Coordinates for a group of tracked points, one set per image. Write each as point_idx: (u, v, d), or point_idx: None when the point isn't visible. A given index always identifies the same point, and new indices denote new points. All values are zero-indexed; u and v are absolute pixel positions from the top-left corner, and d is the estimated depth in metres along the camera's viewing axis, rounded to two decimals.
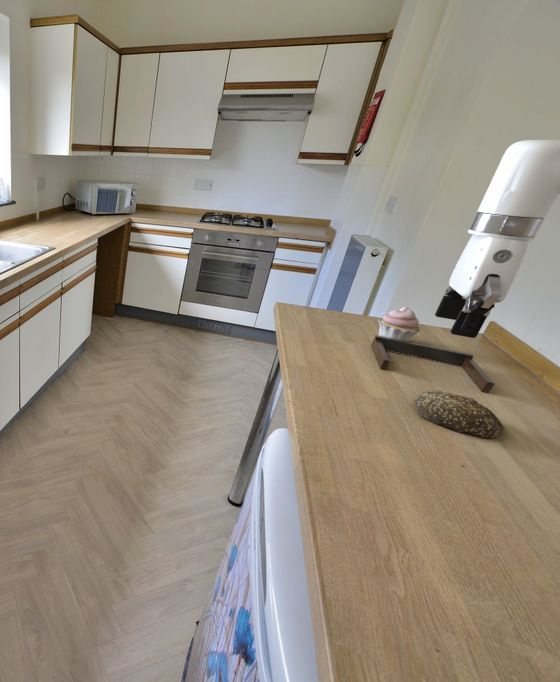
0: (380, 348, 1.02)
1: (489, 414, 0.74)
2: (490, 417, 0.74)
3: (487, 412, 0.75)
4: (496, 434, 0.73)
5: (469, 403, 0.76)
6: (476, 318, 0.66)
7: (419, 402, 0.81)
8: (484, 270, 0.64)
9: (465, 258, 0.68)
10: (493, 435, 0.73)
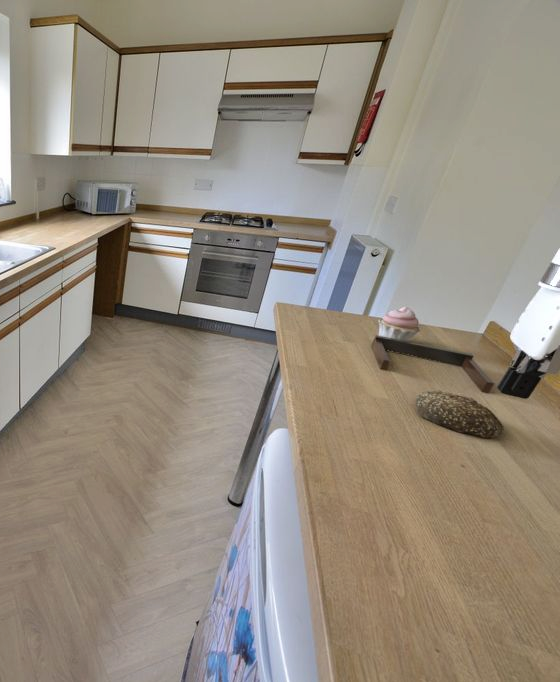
0: (380, 348, 1.02)
1: (489, 414, 0.74)
2: (490, 417, 0.74)
3: (487, 412, 0.75)
4: (496, 434, 0.73)
5: (470, 403, 0.76)
6: (530, 379, 0.62)
7: (419, 402, 0.81)
8: None
9: (534, 313, 0.60)
10: (493, 435, 0.73)
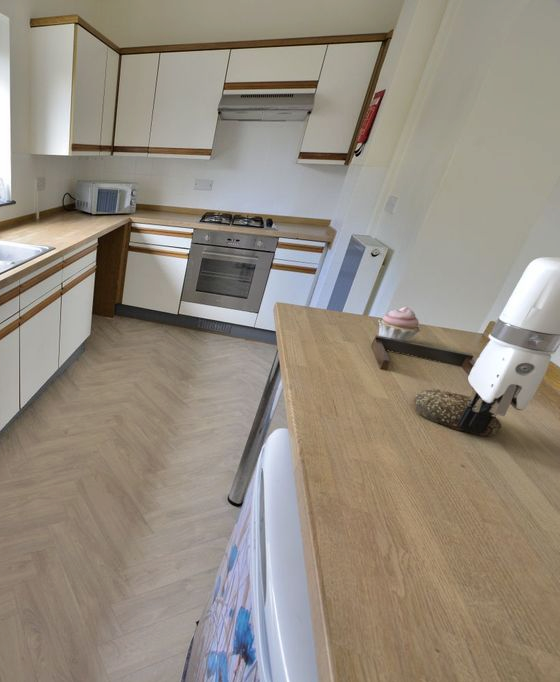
0: (380, 348, 1.02)
1: None
2: None
3: None
4: (494, 432, 0.73)
5: (467, 401, 0.76)
6: (484, 417, 0.71)
7: (417, 400, 0.81)
8: (506, 380, 0.65)
9: (486, 361, 0.69)
10: (491, 433, 0.74)
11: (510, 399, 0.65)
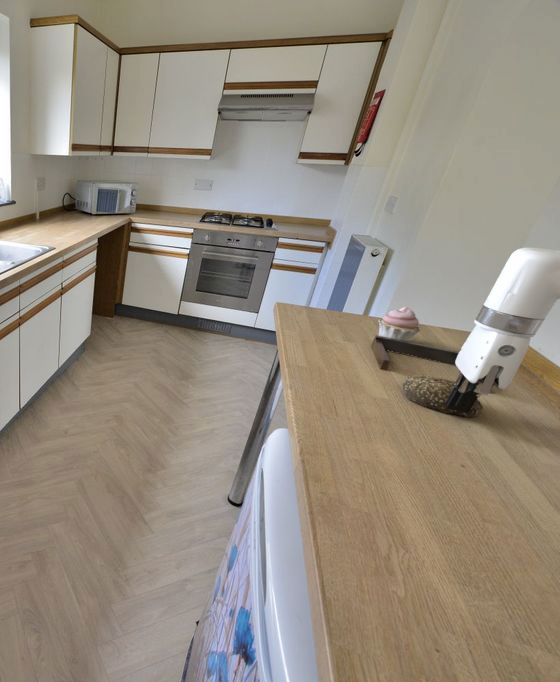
0: (380, 348, 1.02)
1: None
2: None
3: None
4: (477, 413, 0.79)
5: (452, 385, 0.82)
6: (469, 397, 0.76)
7: (406, 386, 0.86)
8: (489, 361, 0.70)
9: (471, 345, 0.75)
10: (475, 414, 0.79)
11: (493, 379, 0.71)
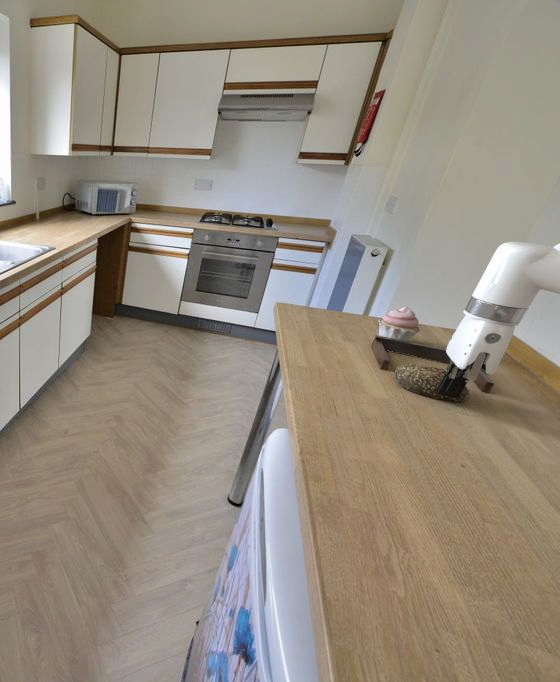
0: (380, 348, 1.02)
1: None
2: None
3: None
4: (466, 398, 0.84)
5: (442, 373, 0.87)
6: (458, 383, 0.81)
7: (399, 375, 0.91)
8: (477, 348, 0.75)
9: (461, 333, 0.79)
10: (463, 399, 0.84)
11: (480, 365, 0.76)
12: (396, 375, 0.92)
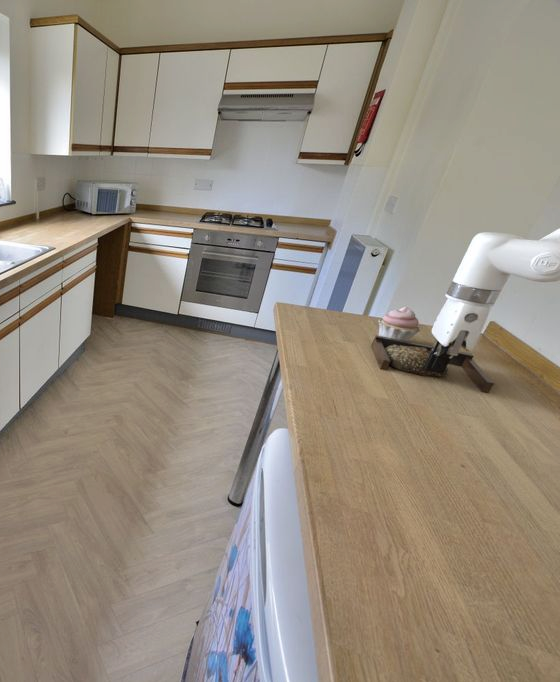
0: (380, 348, 1.02)
1: None
2: None
3: None
4: (447, 373, 0.94)
5: (425, 351, 0.96)
6: (443, 359, 0.90)
7: (388, 356, 1.00)
8: (458, 327, 0.84)
9: (444, 315, 0.89)
10: (446, 374, 0.94)
11: (461, 342, 0.85)
12: None
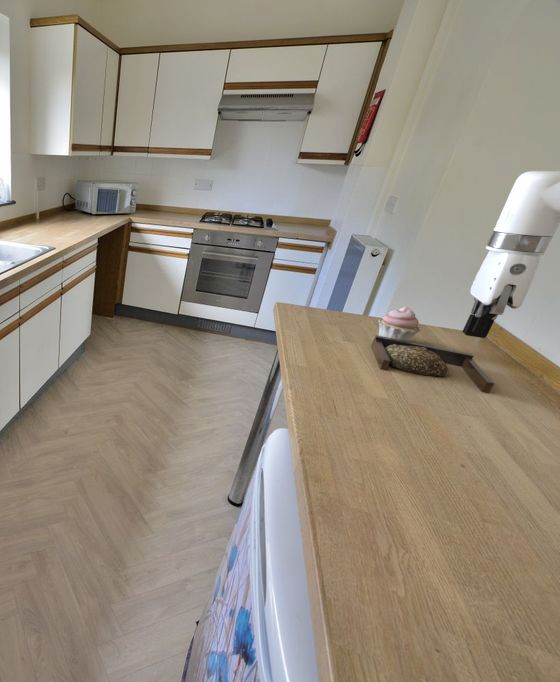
0: (380, 348, 1.02)
1: (439, 357, 0.96)
2: (441, 360, 0.95)
3: (437, 356, 0.96)
4: (447, 372, 0.95)
5: (425, 351, 0.97)
6: (485, 321, 0.80)
7: (388, 356, 1.00)
8: (502, 281, 0.74)
9: (484, 270, 0.79)
10: (445, 373, 0.94)
11: (507, 298, 0.75)
12: None
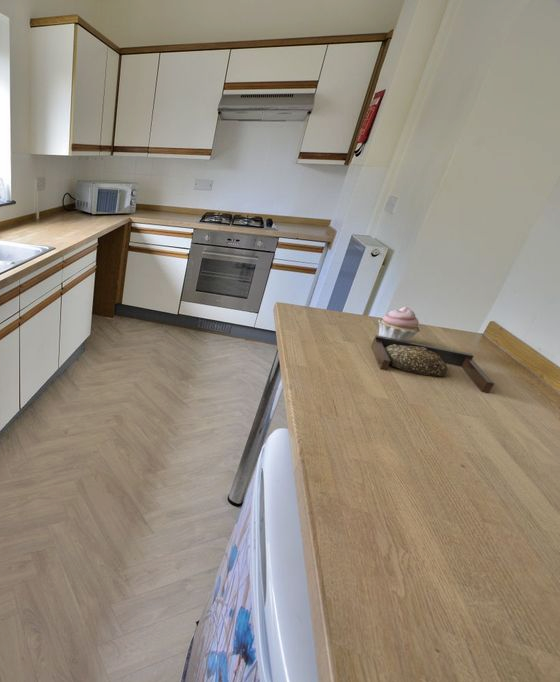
0: (380, 348, 1.02)
1: (439, 357, 0.96)
2: (441, 360, 0.95)
3: (437, 356, 0.96)
4: (447, 372, 0.95)
5: (425, 351, 0.97)
6: None
7: (388, 356, 1.00)
8: None
9: None
10: (445, 373, 0.94)
11: None
12: None
